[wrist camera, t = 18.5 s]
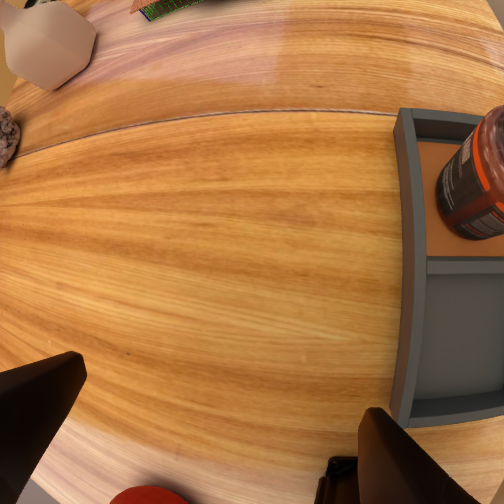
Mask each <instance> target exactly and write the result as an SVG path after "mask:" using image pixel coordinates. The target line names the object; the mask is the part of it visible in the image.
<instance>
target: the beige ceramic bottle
mask: <svg viewBox="0 0 504 504" xmlns="http://www.w3.org/2000/svg"><path fill="white" fill-rule="evenodd" d="M0 29H2V31H3V32H4V35H5V54H6V62H7V65H8V68H9V70H10V71H11V72H12V73H14V74H16V75H17V76H19V77H21V78H23V79H25V80H27V81H29V82H31V83H32V84H34V85H36V86H38V87H40V88H42V89H44V90H47V91H50V90H54V89H57V88H58V87H60V86H61V85H62V84H64V83H65V82H66V81H68V80H69V79H70V78H72V77H73V76H74V75H76V74H77V73H79V72H80V71H81V70H83V69H84V68H85V67H86V66H87V65H88V63H89V61H90V57H91V53H92V49H93V45H94V41H95V37H96V30H95V28H94V26H93V25H92V24H91V23H90V22H88V21H87V20H86V19H85V18H84V17H82V16H81V15H80V14H79V13H78V12H76V11H75V10H74V9H73V8H71V7H70V6H69V5H68V4H66V3H65V2H61V1H52V2H47V3H43V4H39V5H35V6H33V7H30V8H28V9H19V8H16V7H14V6H13V5H11V4H9V3H8V2H6V1H5V0H0Z"/></svg>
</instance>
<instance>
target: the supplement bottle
mask: <svg viewBox="0 0 504 504" xmlns="http://www.w3.org/2000/svg"><path fill="white" fill-rule="evenodd" d="M435 190H436V191H435V196H436V203H437V207H438V210H439V213H440V215H441V217H442V219H443V220H444V222H445V223H446V225H447V226H448V227H449V228H450V229H451V231H452V232H454V233H455V234H457V235H458V236H460V237H462V238H464V239H467V240H472V241H480V240H486V239H489V238H492V237H496V236H499V235H502V234H504V105H500V106H498V107H496V108H494V109H492V110H491V111H490V112H489V113H488V114H487V115H486V116H485V117H484V118H483V119H482V120H481V122H480V123H479V124H478V125H477V127H476V128H475V129H474V131H473V132H472V133H471V134H470V136H469V137H468V138H467V139H466V141H465V142H464V143H463V144H462V145H461V147H460V148H459V149H458V151H457V152H456V153H455V154H454V155H453V157H452V158H451V159H450V160H449V161H448V163H447V164H446V165H445V166H444V168H443V169H442V170H441V172H440V174H439V176H438V179H437V182H436V188H435Z"/></svg>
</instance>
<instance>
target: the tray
mask: <svg viewBox="0 0 504 504" xmlns="http://www.w3.org/2000/svg"><path fill="white" fill-rule="evenodd" d="M483 118H484V116H478V115H472V114H465V113H457V112H449V111H440V110H429V109H416V108H400V109H399V113H398V116H397V120H396V123H395V126H394V129H393V133H394V140H395V147H396V155H397V163H398V173H399V183H400V196H401V212H402V239H403V276H402V302H401V318H400V331H399V342H398V351H397V359H396V367H395V375H394V381H393V388H392V394H391V400H390V405H389V408H390V411H391V415H392V418H393V420H394V421H395V422H396V423H397V424H398V425H399V426H400V427H401V428H402V429H404V428H420V427H431V426H441V425H449V424H457V423H464V422H470V421H476V420H482V419H487V418H492V417H497V416H501V415H504V234H502V235H499V236H496V237H492V238H489V239H486V240H480V241H472V240H467V239H464V238H462V237H460V236H458V235H457V234H455V233H454V232H452V231H451V229H450V228H449V227H448V226H447V225H446V223H445V222H444V220H443V219H442V217H441V215H440V213H439V210H438V207H437V203H436V196H435V191H436V190H435V188H436V182H437V179H438V176H439V174H440V172H441V170H442V169H443V168H444V166H445V165H446V164H447V163H448V161H449V160H450V159H451V158H452V157H453V155H454V154H455V153H456V152H457V151H458V149H459V148H460V147H461V145H462V144H463V143H464V142H465V141H466V139H467V138H468V137H469V136H470V134H471V133H472V132H473V131H474V129H475V128H476V127H477V125H478V124H479V123H480V122H481V120H482V119H483Z"/></svg>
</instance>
